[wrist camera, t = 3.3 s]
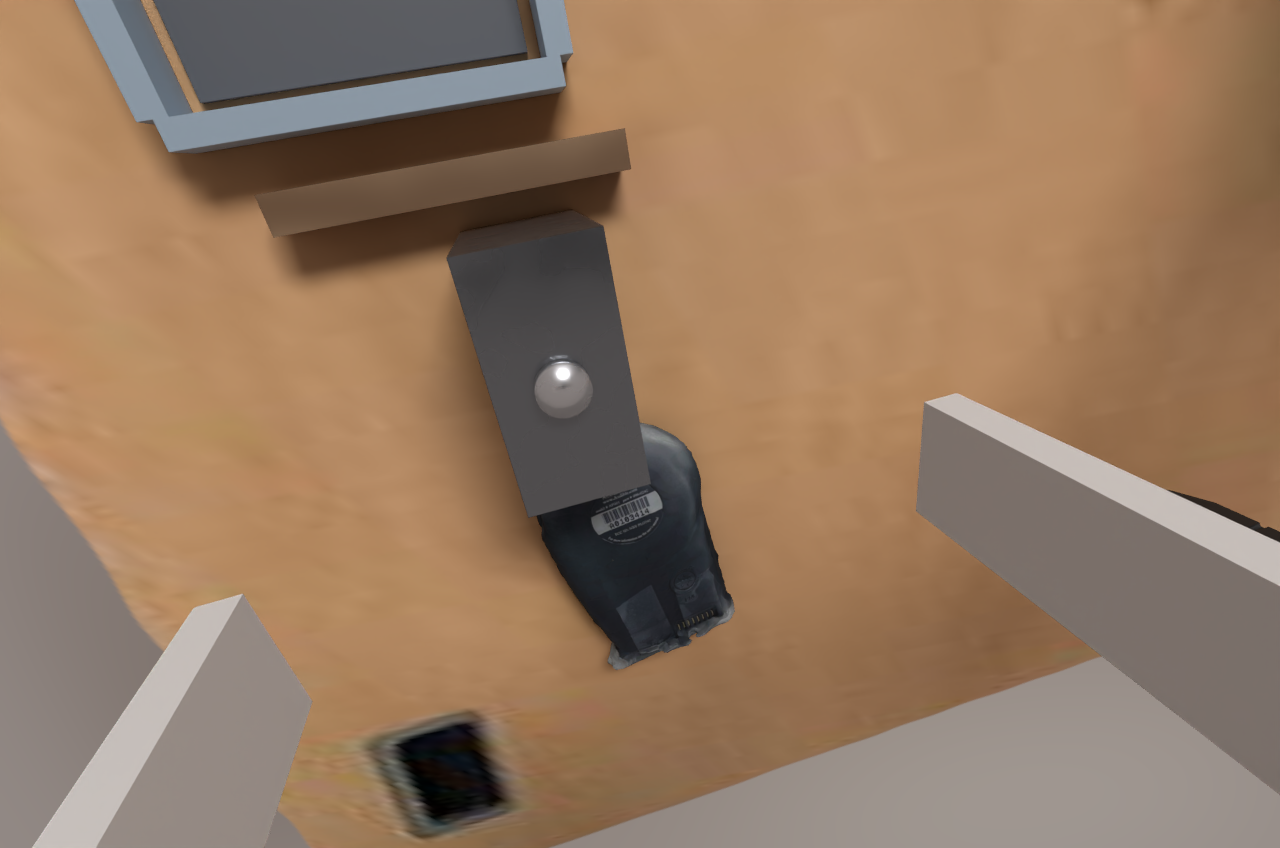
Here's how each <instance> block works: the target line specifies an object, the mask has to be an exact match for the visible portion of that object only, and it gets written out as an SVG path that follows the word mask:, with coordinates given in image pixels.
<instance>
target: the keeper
mask: <svg viewBox="0 0 1280 848" xmlns="http://www.w3.org/2000/svg"><path fill="white" fill-rule="evenodd" d="M74 1H75V3H76V4H77V6H78V8H79V10H80V12H81V14H82V16H83V18H84V20H85V22H86V24H87V26H88V28H89V30H90V32H91V34H92V36H93V38H94V40H95V42H96V44H97V46H98V48H99V50H100V52H101V53H102V55H103V57H104V59H105V61H106V63H107V65H108V67H109V69H110V71H111V73H112V75H113V77H114V79H115V81H116V83H117V85H118V87H119V89H120V91H121V93H122V95H123V97H124V99H125V101H126V102H127V104H128V106H129V108H130V110H131V112H132V114H133V116H134V118H135V120H136V122H140V123H148V124H155V125H156V127H157V129H158V131H159V133H160V135H161V137H162V139H163V141H164V143H165V145H166V147H167V149H168V151H169V152H176V153H196V154H197V153H203V152H209V151H214V150H220V149H226V148H232V147H238V146H244V145H250V144H256V143H262V142H268V141H274V140H280V139H286V138H292V137H298V136H304V135H310V134H316V133H322V132H327V131H333V130H339V129H345V128H351V127H357V126H363V125H369V124H375V123H381V122H387V121H393V120H399V119H405V118H411V117H417V116H423V115H429V114H435V113H440V112H446V111H452V110H458V109H464V108H470V107H476V106H482V105H488V104H494V103H500V102H506V101H512V100H518V99H524V98H530V97H536V96H542V95H548V94H553V93H559V92H561V91H562V90H563V89H564V88H565V87H566V83H565V78H564V73H563V67H562V63H563V62H567V61H568V60H569V58H570V57H571V55H572V54H573V49H572V43H571V38H570V33H569V27H568V22H567V16H566V11H565V5H564V0H529V2H530V7H531V12H532V17H533V22H534V26H535V31H536V36H537V41H538V46H539V51H540V55H541V58H537V59H531V60H525V61H518V62H512V63H506V64H499V65H493V66H487V67H481V68H474V69H468V70H462V71H455V72H449V73H443V74H436V75H430V76H424V77H417V78H411V79H405V80H398V81H392V82H386V83H380V84H373V85H367V86H361V87H354V88H348V89H342V90H335V91H329V92H323V93H316V94H310V95H304V96H297V97H291V98H285V99H279V100H272V101H266V102H260V103H253V104H247V105H241V106H234V107H228V108H222V109H215V110H209V111H203V112H197V113H193V112H192V110H191V108H190V106H189V104H188V101H187V99H186V97H185V95H184V93H183V91H182V89H181V86H180V84H179V82H178V80H177V78H176V76H175V74H174V71H173V69H172V67H171V65H170V63H169V61H168V59H167V56H166V54H165V52H164V50H163V48H162V46H161V44H160V41H159V39H158V37H157V35H156V33H155V31H154V28H153V26H152V24H151V22H150V20H149V18H148V16H147V13H146V11H145V9H144V7H143V5H142V3H141V1H140V0H74ZM154 2H155V5H156V7H157V9H158V11H159V13H160V16H161V18H162V20H163V22H164V24H165V27H166V29H167V31H168V33H169V35H170V37H171V40H172V42H173V44H174V46H175V48H176V51H177V53H178V55H179V57H180V59H181V62H182V64H183V66H184V68H185V70H186V72H187V75H188V77H189V79H190V81H191V83H192V86H193V88H194V90H195V92H196V94H197V96H198V99H199V101H200V103H204V104H205V103H212V102H218V101H224V100H231V99H237V98H244V97H250V96H256V95H263V94H269V93H275V92H282V91H288V90H295V89H301V88H307V87H314V86H320V85H327V84H333V83H339V82H346V81H352V80H358V79H365V78H371V77H378V76H384V75H390V74H397V73H403V72H410V71H416V70H422V69H429V68H435V67H441V66H448V65H454V64H461V63H467V62H473V61H480V60H486V59H493V58H499V57H505V56H512V55H518V54H524V53H527V52H528V51H527V46H526V42H525V37H524V32H523V28H522V23H521V18H520V14H519V9H518V4H517V0H154Z"/></svg>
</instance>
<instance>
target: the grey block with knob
mask: <svg viewBox="0 0 1280 848" xmlns="http://www.w3.org/2000/svg"><path fill="white" fill-rule="evenodd" d="M447 261H448V264H449V268H450V271H451V274H452V277H453V280H454V283H455V287H456V290H457V293H458V296H459V299H460V302H461V306H462V309H463V312H464V315H465V318H466V321H467V325H468V328H469V331H470V334H471V337H472V340H473V343H474V347H475V350H476V353H477V356H478V359H479V362H480V366H481V369H482V372H483V375H484V378H485V381H486V385H487V388H488V391H489V394H490V397H491V400H492V404H493V407H494V410H495V413H496V416H497V419H498V423H499V426H500V429H501V432H502V435H503V438H504V442H505V445H506V448H507V451H508V454H509V457H510V461H511V464H512V467H513V470H514V473H515V476H516V480H517V483H518V486H519V489H520V492H521V495H522V499H523V502H524V505H525V508H526V511H527V514H528V518H529V517H533V516H536V515H540V514H544V513H547V512H551V511H555V510H558V509H562V508H565V507H569V506H573V505H576V504H580V503H584V502H587V501H591V500H594V499H598V498H602V497H605V496H609V495H613V494H616V493H620V492H623V491H627V490H631V489H634V488H638V487H642V486H645V485H649V484H651V482H650V476H649V471H648V465H647V460H646V454H645V449H644V444H643V438H642V433H641V427H640V422H639V417H638V411H637V406H636V400H635V395H634V390H633V384H632V379H631V373H630V368H629V362H628V357H627V352H626V346H625V341H624V335H623V330H622V325H621V319H620V314H619V308H618V303H617V298H616V292H615V287H614V281H613V276H612V270H611V265H610V260H609V254H608V249H607V243H606V238H605V233H604V227H603V225H601V224H599V223H597V222H595V221H593V220H591V219H589V218H587V217H585V216H583V215H581V214H580V213H578V212H576V211H574V210H568V211H563V212H558V213H553V214H548V215H543V216H538V217H533V218H528V219H523V220H518V221H513V222H508V223H503V224H498V225H493V226H488V227H483V228H478V229H473V230H468V231H463V232H460V233H459V235H458V237H457V239H456V241H455V243H454V245H453V247H452V248H451V250H450V252H449V254H448V256H447Z"/></svg>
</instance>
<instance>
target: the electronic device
mask: <svg viewBox="0 0 1280 848" xmlns="http://www.w3.org/2000/svg"><path fill="white" fill-rule="evenodd" d="M640 427H641V433H642V438H643V444H644V449H645V454H646V460H647V465H648V471H649V476H650V482H651V484H649V485H645V486H642V487H638V488H634V489H631V490H627V491H623V492H620V493H616V494H613V495H609V496H605V497H602V498H598V499H594V500H591V501H587V502H584V503H580V504H576V505H573V506H569V507H565V508H562V509H558V510H555V511H551V512H547V513H544V514H540V515H537V518H538V522H539V524H540V526H541V527H542V534H541V535H542V540H543V541H544V543H545V545H546V547H547V548H548V549H549V552H550V554H551V556H552V558H553V560H554V561H555V563H556V564H557V567H558V569H559V571H560V573H561V574H562V576H563V577H564V578H565V580H566V581H567V583H568V585H569V586H570V587H571V589H572V591H573V593H574V594H575V595H576V597H577V598H578V600H579V601H580V602H581V603H582V605H583V606H584V608H585V609H586V610H587V612H588V613H589V615H590V616H591V617H592V618H593V621H594V622H595V623H596V624H597V625H598V626H599V627H601V628H602V630H603V631H604V632H605V634H606V635H607V637H608V638H609V639H610V640H611V641H612V644H611V650H610V655H609V658H608V663H609V664H611V665H612V666H613V668H614V669H616V670H618V669H623V668H626V667H628V666H630V665H632V664H634V663H636V662H638V661H641V660H643V659H645V658H647V657H649V656H651V655H653V654H655V653H657V652H660V651H664V652H667V653H668V652H669V651H671V650H674V649H676V648H679V647H683V646H687V645H689V644H690V643H691V641H692V640H691V639H689V638H690V636H691V635H693V634H695V633H697V634H696V636H697V637H700V636H703V635H705V634H706V633H707V632H708V631H710V630H711V629H712V628H714V627H715V626H718V625H720V624H723V623H726V622H727V621H729V620H730V619H731V618H732V615H733V613H734V612H735V610H734V603H733V600H732V597H731V595H730V594H729V593H727V591H726V587H725V584H724V580H723V577H722V572H721V569H720V567H719V563H718V554H717V552H716V550H715V549H714V545H713V542H712V539H711V535H710V530H709V528H708V525H707V522H706V518H705V514H704V511H703V507H702V501H701V478H700V474H699V471H698V468H697V465H696V462H695V460H694V459H693V457H692V453H691V451H689V450H688V449H687V446H685V444H684V443H683V442H681V441H680V440H679V439H678V438H677V437H675V436H674V435H672V434H670V433H668V432H667V431H664V430H662V429H660V428H658V427H656V426H653V425H648V424H644V423H640Z"/></svg>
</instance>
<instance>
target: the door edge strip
mask: <svg viewBox="0 0 1280 848" xmlns="http://www.w3.org/2000/svg"><path fill="white" fill-rule="evenodd" d="M630 169H631V165H630V159H629V152H628V146H627V139H626V133H625V128H624V129H619V130H613V131H608V132H602V133H596V134H591V135H585V136H580V137H574V138H569V139H563V140H558V141H552V142H547V143H541V144H535V145H530V146H524V147H519V148H513V149H508V150H502V151H497V152H491V153H486V154H480V155H475V156H469V157H463V158H458V159H452V160H447V161H441V162H436V163H430V164H425V165H419V166H414V167H408V168H402V169H397V170H391V171H386V172H380V173H375V174H369V175H364V176H358V177H353V178H347V179H342V180H336V181H330V182H325V183H319V184H314V185H308V186H303V187H297V188H292V189H286V190H281V191H275V192H270V193H264V194H258V195H255V198H256V200H257V202H258V204H259V206H260V209H261V211H262V213H263V215H264V218H265V220H266V222H267V224H268V227H269V229H270V231H271V233H272V235H273V238H274V237H280V236H285V235H290V234H295V233H301V232H306V231H311V230H316V229H321V228H327V227H332V226H337V225H342V224H348V223H353V222H358V221H363V220H368V219H374V218H379V217H384V216H389V215H395V214H400V213H405V212H410V211H415V210H421V209H426V208H431V207H436V206H442V205H447V204H452V203H457V202H462V201H468V200H473V199H478V198H483V197H489V196H494V195H499V194H504V193H509V192H515V191H520V190H525V189H530V188H536V187H541V186H546V185H551V184H556V183H562V182H567V181H572V180H577V179H583V178H588V177H593V176H598V175H603V174H609V173H614V172H619V171H624V170H630Z"/></svg>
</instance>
